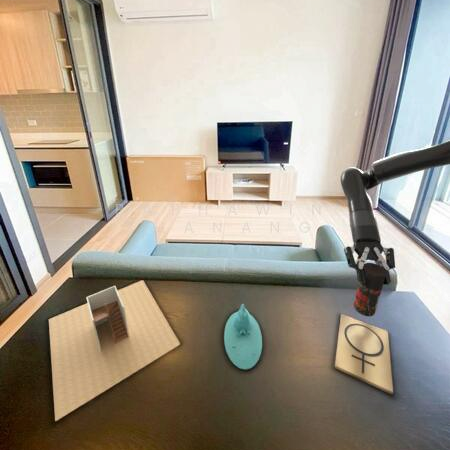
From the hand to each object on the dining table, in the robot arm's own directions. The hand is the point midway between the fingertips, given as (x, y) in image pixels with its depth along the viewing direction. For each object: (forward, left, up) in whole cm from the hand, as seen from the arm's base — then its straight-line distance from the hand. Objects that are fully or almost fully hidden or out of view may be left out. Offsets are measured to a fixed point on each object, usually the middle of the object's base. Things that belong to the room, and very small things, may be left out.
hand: (374, 283), depth 70 cm
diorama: (+33, +18, -22) cm, 44 cm away
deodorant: (+1, -2, -11) cm, 12 cm away
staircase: (+72, +37, -22) cm, 84 cm away
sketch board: (-1, +4, -22) cm, 22 cm away
